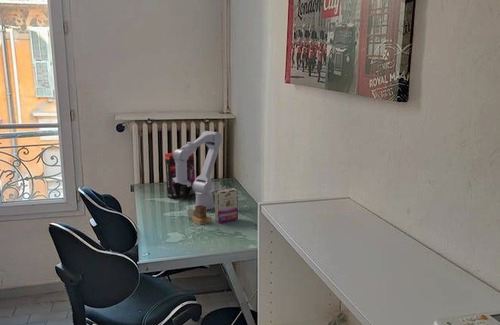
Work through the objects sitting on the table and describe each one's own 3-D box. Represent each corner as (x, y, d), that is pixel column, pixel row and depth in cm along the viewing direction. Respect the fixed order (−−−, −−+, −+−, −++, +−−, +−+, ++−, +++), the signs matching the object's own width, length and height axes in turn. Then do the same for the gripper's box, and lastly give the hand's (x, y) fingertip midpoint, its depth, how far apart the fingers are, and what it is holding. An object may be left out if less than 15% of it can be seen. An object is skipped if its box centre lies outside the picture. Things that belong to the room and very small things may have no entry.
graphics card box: (171, 199, 260) (169, 155, 254) (166, 197, 265) (164, 153, 259) (196, 194, 270) (194, 151, 265) (190, 192, 276) (188, 150, 270)
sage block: (192, 215, 232) (192, 208, 232) (198, 216, 230) (198, 209, 229) (187, 217, 229) (187, 210, 228) (193, 218, 227) (193, 211, 226)
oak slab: (203, 219, 228) (203, 213, 227) (211, 222, 222) (211, 217, 222) (192, 222, 223) (192, 216, 223) (199, 225, 218) (199, 220, 217)
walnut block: (201, 215, 225) (201, 204, 224) (206, 216, 222) (206, 206, 221) (195, 216, 222) (195, 206, 221) (200, 218, 219) (199, 208, 218)
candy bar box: (234, 217, 229) (233, 187, 225) (238, 220, 225) (238, 189, 221) (214, 220, 224) (214, 190, 220) (218, 223, 219) (217, 192, 216)
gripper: (167, 170, 229) (168, 195, 232) (182, 175, 218) (183, 201, 221) (178, 168, 234) (179, 193, 236) (194, 173, 223) (194, 198, 226)
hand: (182, 197), depth 229 cm, fingers open, 7 cm apart
